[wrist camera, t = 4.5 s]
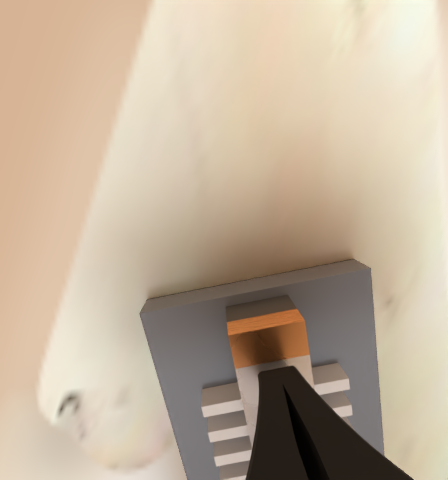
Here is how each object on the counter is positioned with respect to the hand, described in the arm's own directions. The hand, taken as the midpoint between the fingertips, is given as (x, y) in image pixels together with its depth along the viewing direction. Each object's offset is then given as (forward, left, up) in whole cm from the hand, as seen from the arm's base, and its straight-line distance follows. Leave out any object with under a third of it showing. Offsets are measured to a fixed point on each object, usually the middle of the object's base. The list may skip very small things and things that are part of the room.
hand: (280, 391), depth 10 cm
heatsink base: (-4, 0, -5) cm, 6 cm away
